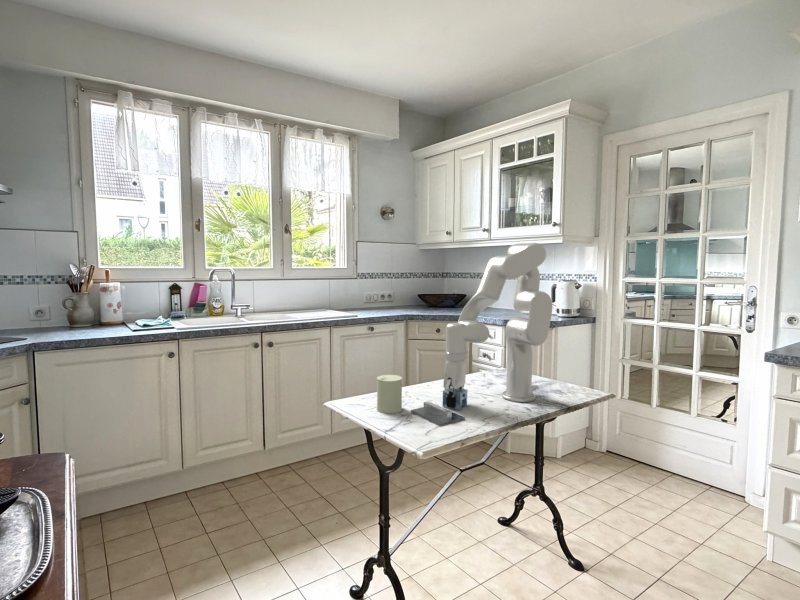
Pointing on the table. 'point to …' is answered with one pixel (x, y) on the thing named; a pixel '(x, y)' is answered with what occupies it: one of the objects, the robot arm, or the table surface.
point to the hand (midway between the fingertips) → (454, 404)
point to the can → (389, 393)
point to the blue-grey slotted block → (457, 398)
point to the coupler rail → (436, 418)
